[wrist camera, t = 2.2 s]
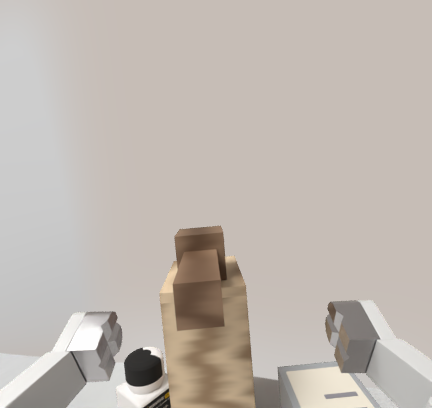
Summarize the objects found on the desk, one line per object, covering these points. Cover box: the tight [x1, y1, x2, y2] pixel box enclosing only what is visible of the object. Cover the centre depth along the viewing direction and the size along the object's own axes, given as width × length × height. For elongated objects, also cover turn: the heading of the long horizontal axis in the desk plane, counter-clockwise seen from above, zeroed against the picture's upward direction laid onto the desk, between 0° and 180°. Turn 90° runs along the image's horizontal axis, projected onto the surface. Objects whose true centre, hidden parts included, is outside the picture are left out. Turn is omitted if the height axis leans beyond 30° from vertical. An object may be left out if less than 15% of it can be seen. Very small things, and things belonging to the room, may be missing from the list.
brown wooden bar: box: [173, 226, 227, 331], centre depth 32 cm, size 6×18×6 cm, turn 2°
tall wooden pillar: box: [160, 256, 255, 408], centre depth 40 cm, size 10×14×26 cm
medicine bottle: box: [116, 347, 171, 408], centre depth 46 cm, size 7×7×12 cm
